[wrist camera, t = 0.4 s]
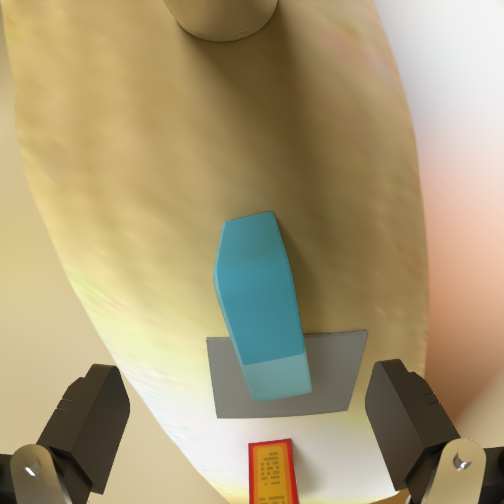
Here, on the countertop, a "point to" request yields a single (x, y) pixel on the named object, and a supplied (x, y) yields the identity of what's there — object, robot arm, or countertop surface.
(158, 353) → the countertop surface
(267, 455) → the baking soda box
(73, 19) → the countertop surface
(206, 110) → the countertop surface
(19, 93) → the countertop surface
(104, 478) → the robot arm
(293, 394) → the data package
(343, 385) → the rubber mat
